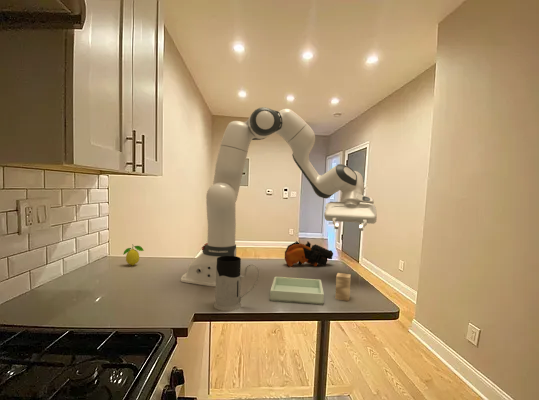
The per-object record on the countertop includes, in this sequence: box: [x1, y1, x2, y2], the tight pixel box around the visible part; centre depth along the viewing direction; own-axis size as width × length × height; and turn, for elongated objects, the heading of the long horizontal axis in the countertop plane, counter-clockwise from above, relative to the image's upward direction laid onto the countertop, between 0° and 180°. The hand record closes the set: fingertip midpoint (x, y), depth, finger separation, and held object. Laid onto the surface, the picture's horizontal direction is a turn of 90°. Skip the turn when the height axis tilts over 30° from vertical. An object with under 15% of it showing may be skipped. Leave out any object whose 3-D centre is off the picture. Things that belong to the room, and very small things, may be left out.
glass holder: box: [213, 255, 260, 312], centre depth 95 cm, size 9×14×15 cm, turn 82°
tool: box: [284, 240, 334, 267], centre depth 147 cm, size 8×23×15 cm, turn 99°
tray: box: [269, 276, 325, 306], centre depth 107 cm, size 18×16×4 cm
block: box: [334, 272, 352, 302], centre depth 105 cm, size 4×4×8 cm
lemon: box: [122, 244, 145, 267], centre depth 137 cm, size 7×6×10 cm
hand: (348, 229), depth 116 cm, fingers open, 8 cm apart
